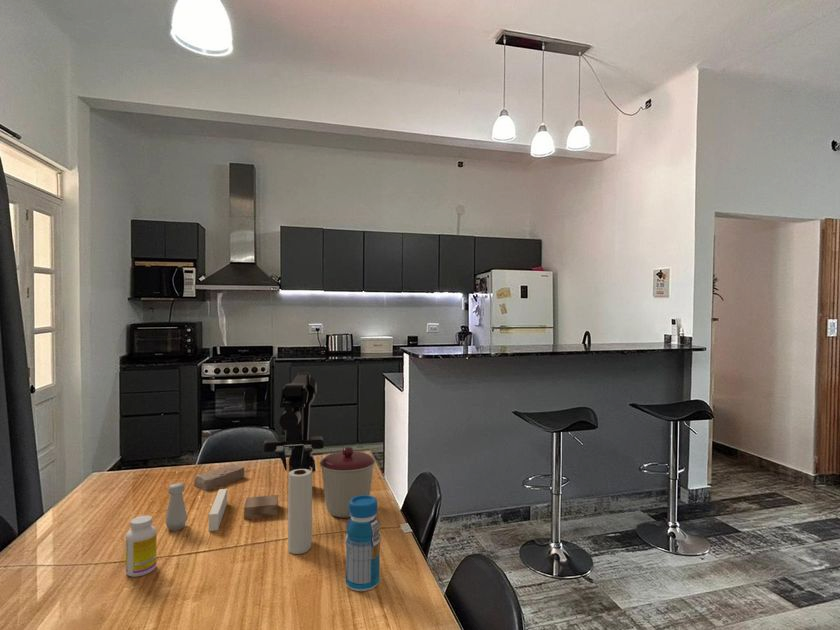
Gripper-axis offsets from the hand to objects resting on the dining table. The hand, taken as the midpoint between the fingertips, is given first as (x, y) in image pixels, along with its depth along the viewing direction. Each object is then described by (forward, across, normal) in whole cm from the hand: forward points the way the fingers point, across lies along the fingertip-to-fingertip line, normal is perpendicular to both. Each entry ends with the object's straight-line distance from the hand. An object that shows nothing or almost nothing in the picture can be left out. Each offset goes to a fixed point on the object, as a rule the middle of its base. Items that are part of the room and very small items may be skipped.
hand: (293, 469), depth 153 cm
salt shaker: (+13, +34, +5) cm, 37 cm away
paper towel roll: (+13, -2, +27) cm, 30 cm away
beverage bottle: (+13, -16, +47) cm, 51 cm away
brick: (+14, +27, -32) cm, 44 cm away
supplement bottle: (+13, +37, +28) cm, 48 cm away
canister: (+13, -17, +6) cm, 22 cm away
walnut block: (+13, +10, 0) cm, 17 cm away
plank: (+13, +23, 0) cm, 26 cm away
